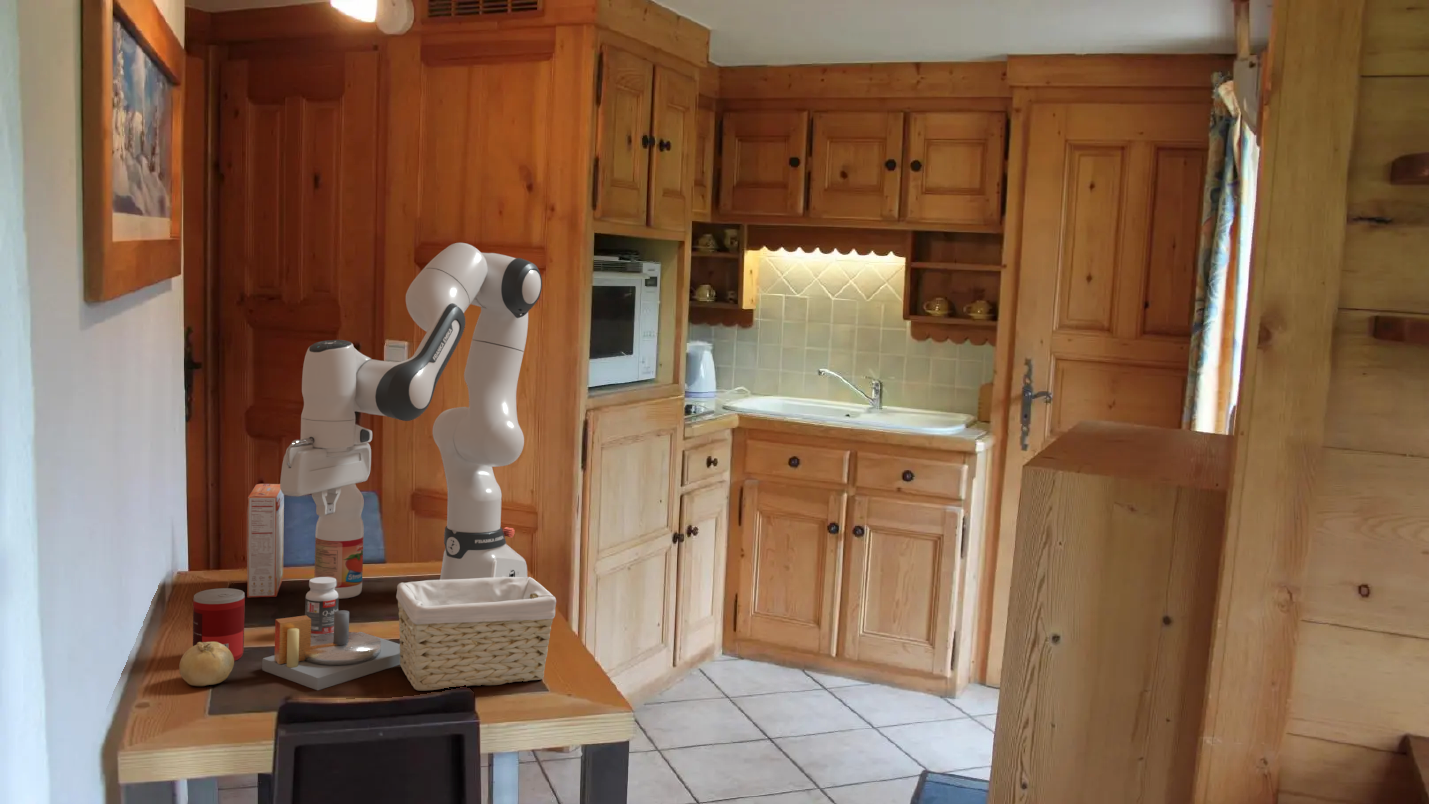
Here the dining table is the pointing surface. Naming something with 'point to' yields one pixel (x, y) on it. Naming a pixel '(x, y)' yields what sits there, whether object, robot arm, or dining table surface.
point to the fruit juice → (342, 543)
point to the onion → (206, 664)
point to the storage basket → (473, 631)
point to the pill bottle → (321, 604)
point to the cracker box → (265, 540)
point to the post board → (330, 674)
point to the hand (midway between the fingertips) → (325, 514)
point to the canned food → (220, 618)
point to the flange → (324, 644)
